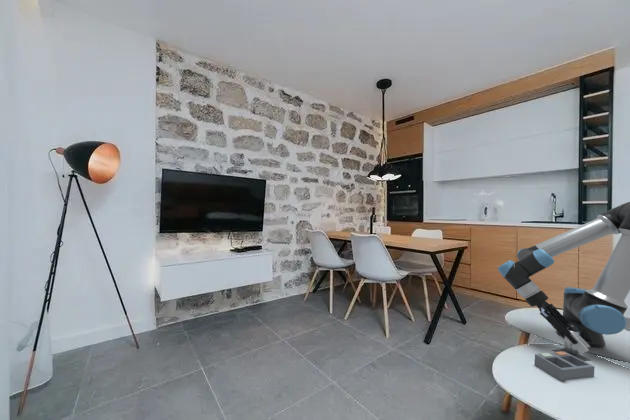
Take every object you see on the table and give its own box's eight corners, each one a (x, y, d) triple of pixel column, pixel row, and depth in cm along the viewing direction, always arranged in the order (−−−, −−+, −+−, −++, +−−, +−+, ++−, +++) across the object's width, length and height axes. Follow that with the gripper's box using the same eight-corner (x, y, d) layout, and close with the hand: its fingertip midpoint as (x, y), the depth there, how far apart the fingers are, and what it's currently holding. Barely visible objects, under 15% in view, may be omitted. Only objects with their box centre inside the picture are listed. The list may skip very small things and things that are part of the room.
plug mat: (566, 349, 105) (567, 348, 105) (591, 361, 97) (591, 360, 97) (551, 351, 104) (551, 350, 104) (574, 363, 96) (575, 362, 96)
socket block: (563, 361, 97) (564, 350, 97) (593, 377, 88) (594, 365, 88) (534, 364, 94) (535, 353, 94) (562, 381, 85) (563, 368, 85)
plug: (568, 351, 103) (570, 322, 102) (580, 357, 99) (582, 327, 99) (561, 352, 102) (562, 323, 102) (572, 358, 98) (574, 328, 98)
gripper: (528, 294, 117) (577, 346, 105) (518, 302, 107) (572, 361, 94) (544, 286, 113) (597, 339, 101) (536, 293, 102) (594, 354, 90)
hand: (585, 349), depth 97 cm, fingers closed on plug, 4 cm apart
